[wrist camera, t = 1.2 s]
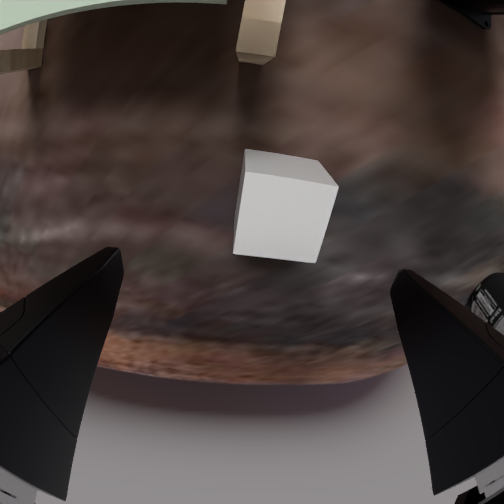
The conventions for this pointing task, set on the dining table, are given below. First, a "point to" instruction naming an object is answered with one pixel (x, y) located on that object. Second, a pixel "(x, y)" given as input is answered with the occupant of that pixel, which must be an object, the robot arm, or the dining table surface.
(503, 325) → the beverage can
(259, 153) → the plain light gray cube
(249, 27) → the trapdoor frame
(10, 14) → the trapdoor
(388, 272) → the dining table surface
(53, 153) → the dining table surface
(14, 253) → the dining table surface
